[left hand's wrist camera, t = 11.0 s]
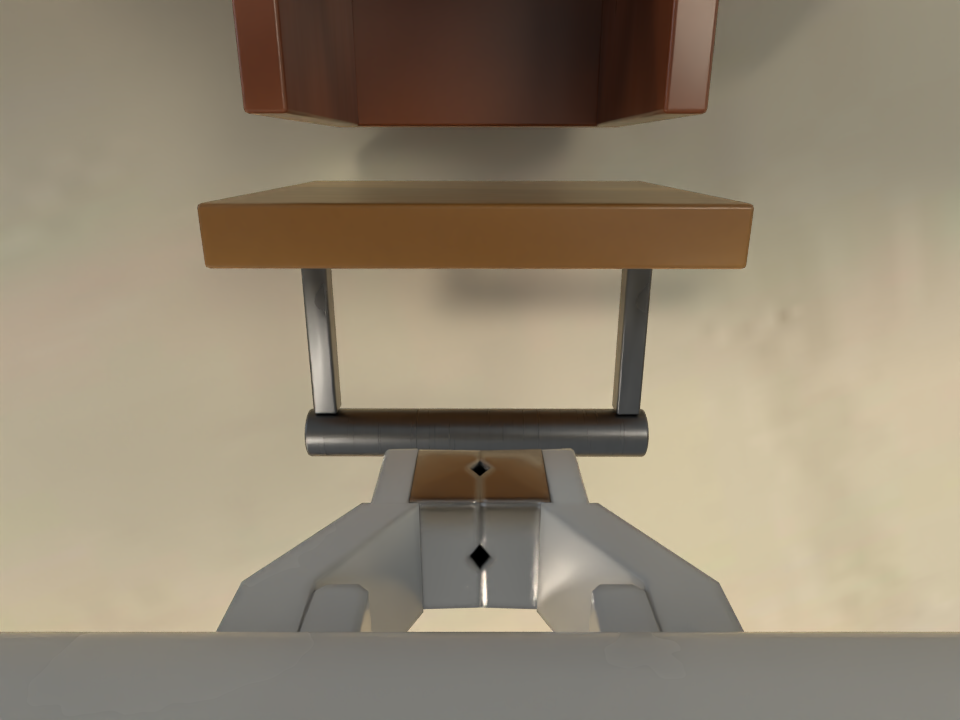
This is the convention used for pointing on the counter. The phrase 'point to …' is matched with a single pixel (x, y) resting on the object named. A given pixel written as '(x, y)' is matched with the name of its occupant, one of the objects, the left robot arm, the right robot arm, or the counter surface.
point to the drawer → (476, 204)
